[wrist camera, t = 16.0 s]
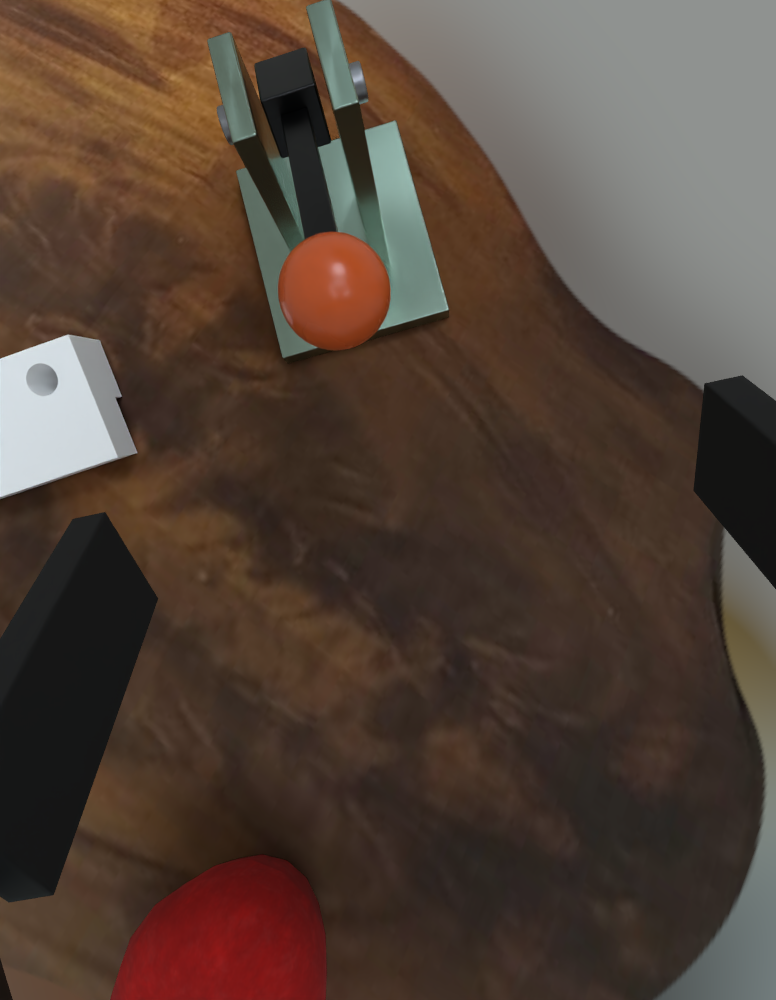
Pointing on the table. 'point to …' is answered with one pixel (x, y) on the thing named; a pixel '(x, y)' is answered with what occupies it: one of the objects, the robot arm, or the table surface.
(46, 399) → the bracket
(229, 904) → the apple
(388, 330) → the clamp
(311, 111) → the clamp lever
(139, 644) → the robot arm
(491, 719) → the table surface
